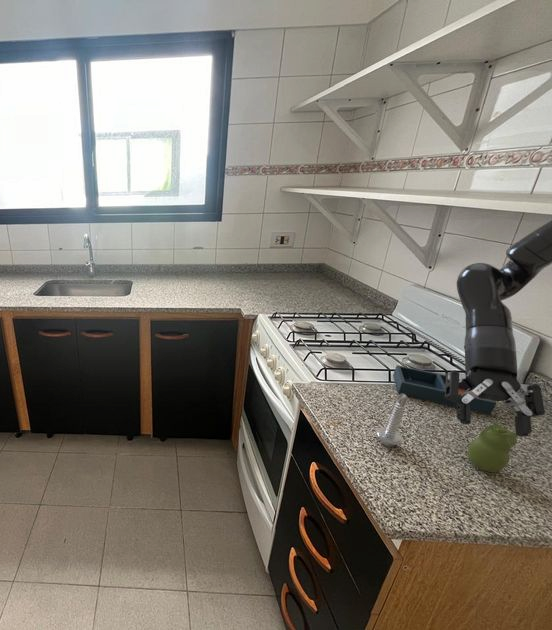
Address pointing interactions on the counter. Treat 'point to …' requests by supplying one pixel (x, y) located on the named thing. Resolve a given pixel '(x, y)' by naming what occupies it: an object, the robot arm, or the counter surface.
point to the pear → (492, 448)
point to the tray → (434, 388)
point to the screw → (393, 425)
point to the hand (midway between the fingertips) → (493, 429)
